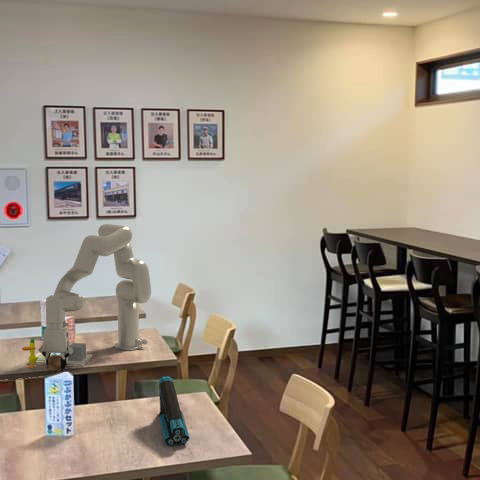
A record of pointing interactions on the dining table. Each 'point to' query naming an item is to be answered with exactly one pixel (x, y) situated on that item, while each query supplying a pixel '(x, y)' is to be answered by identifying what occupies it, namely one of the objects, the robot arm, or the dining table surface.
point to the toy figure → (32, 350)
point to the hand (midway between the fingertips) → (56, 367)
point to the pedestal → (77, 352)
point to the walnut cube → (54, 362)
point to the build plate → (42, 360)
